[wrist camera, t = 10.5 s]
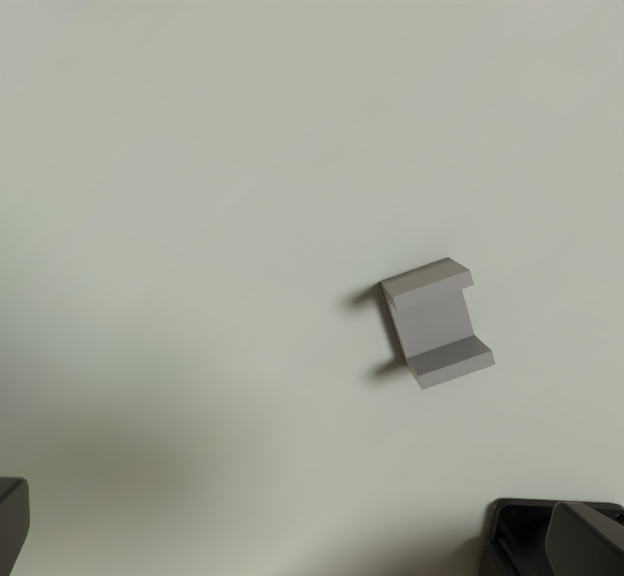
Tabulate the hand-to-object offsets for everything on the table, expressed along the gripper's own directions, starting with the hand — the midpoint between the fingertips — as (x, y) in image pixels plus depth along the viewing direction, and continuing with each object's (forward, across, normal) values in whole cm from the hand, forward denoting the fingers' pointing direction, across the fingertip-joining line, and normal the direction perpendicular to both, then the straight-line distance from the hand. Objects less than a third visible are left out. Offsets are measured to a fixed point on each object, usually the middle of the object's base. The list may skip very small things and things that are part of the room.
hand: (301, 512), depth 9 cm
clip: (+13, -6, 0) cm, 14 cm away
